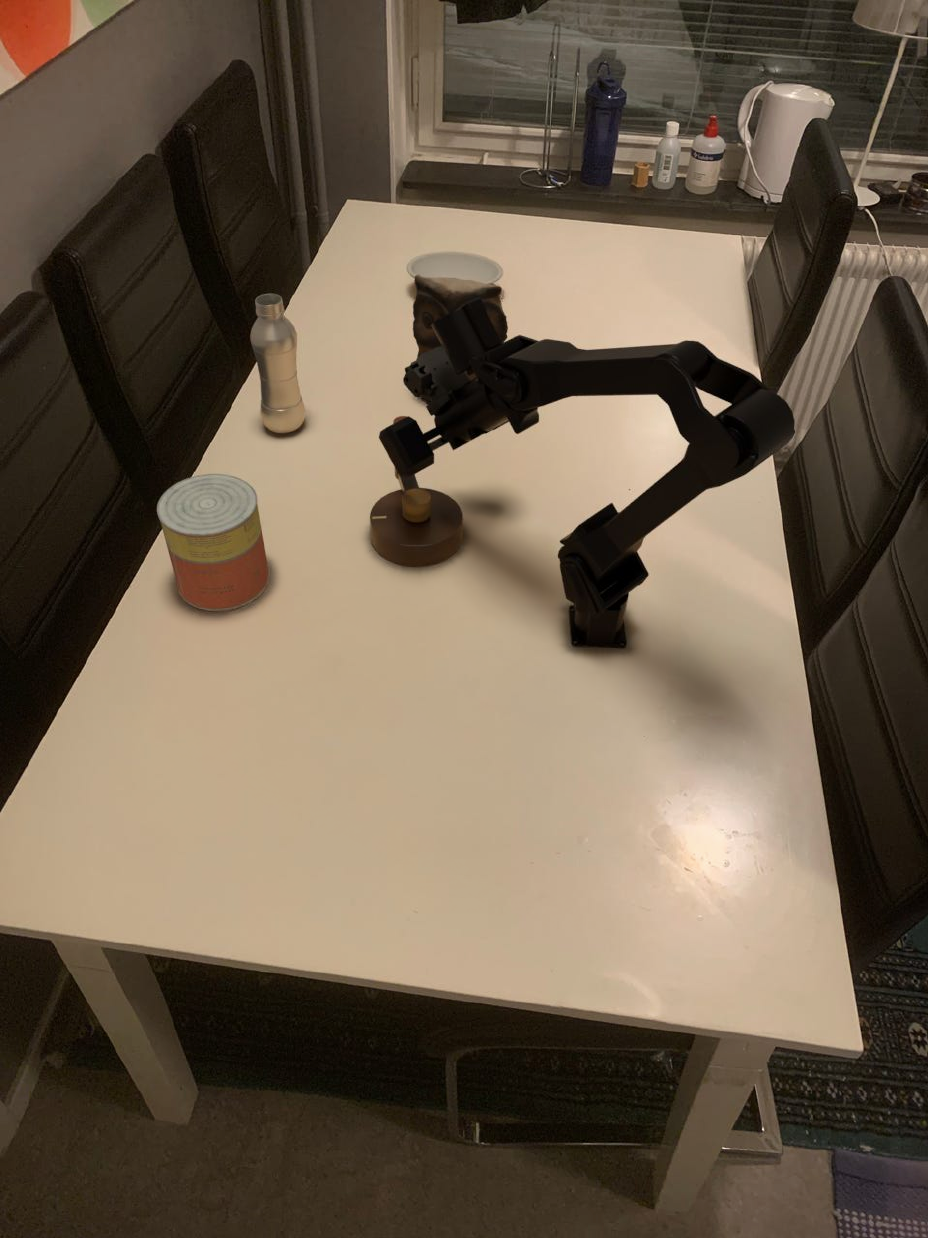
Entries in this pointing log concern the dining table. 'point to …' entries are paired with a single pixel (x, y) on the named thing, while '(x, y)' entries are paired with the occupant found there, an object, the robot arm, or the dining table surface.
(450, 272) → the dish
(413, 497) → the crank handle
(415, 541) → the crank base
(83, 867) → the dining table surface
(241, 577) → the canned food
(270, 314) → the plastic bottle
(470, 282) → the owl
